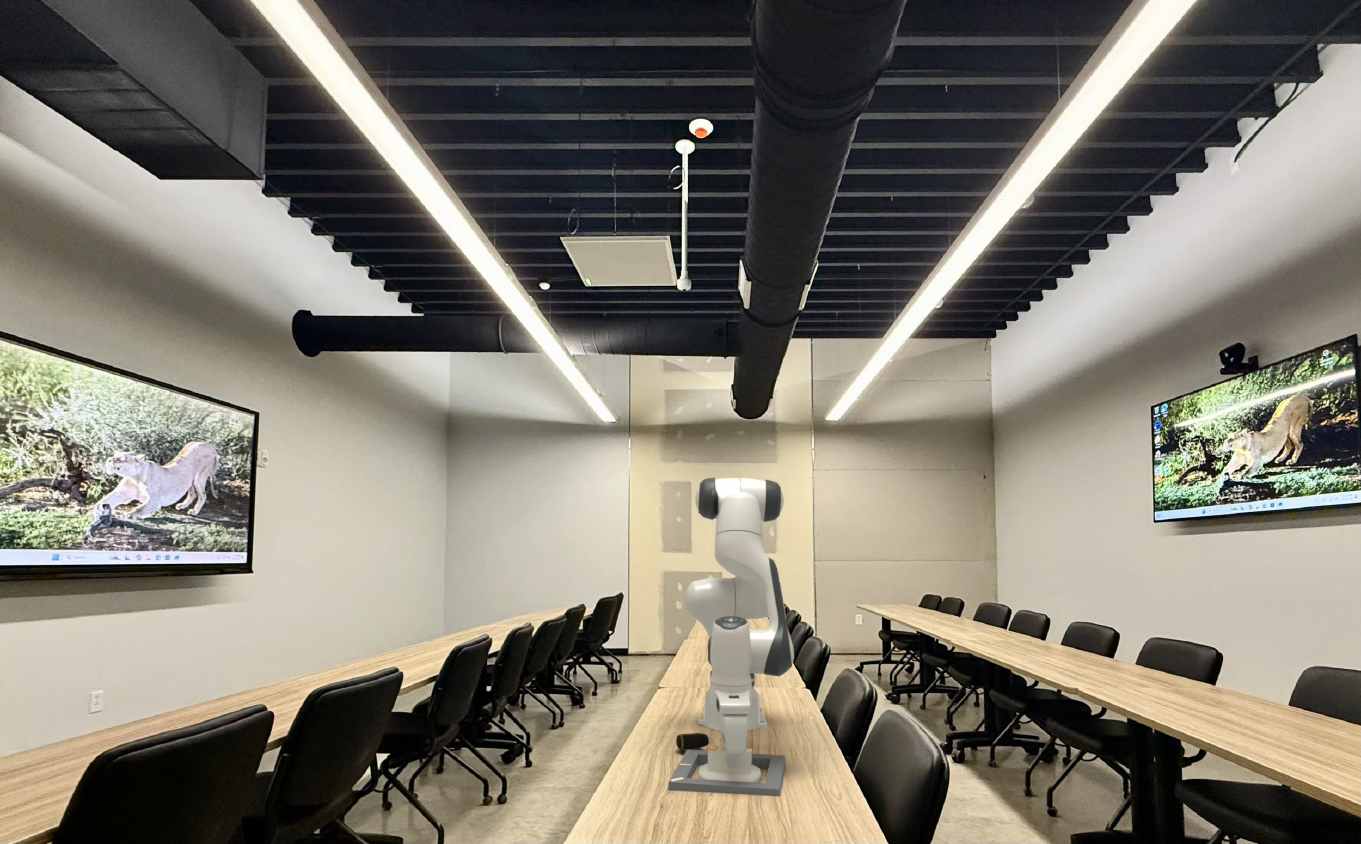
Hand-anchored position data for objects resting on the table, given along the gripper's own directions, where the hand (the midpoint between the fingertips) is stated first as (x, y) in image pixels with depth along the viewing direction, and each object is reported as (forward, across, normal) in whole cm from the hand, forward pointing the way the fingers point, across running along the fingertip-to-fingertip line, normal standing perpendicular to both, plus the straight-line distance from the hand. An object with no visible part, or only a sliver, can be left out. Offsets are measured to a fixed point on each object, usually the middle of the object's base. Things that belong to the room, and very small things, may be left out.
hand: (730, 763), depth 173 cm
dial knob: (+3, 0, 0) cm, 3 cm away
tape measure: (+3, -20, -4) cm, 20 cm away
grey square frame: (+3, 0, 0) cm, 3 cm away
